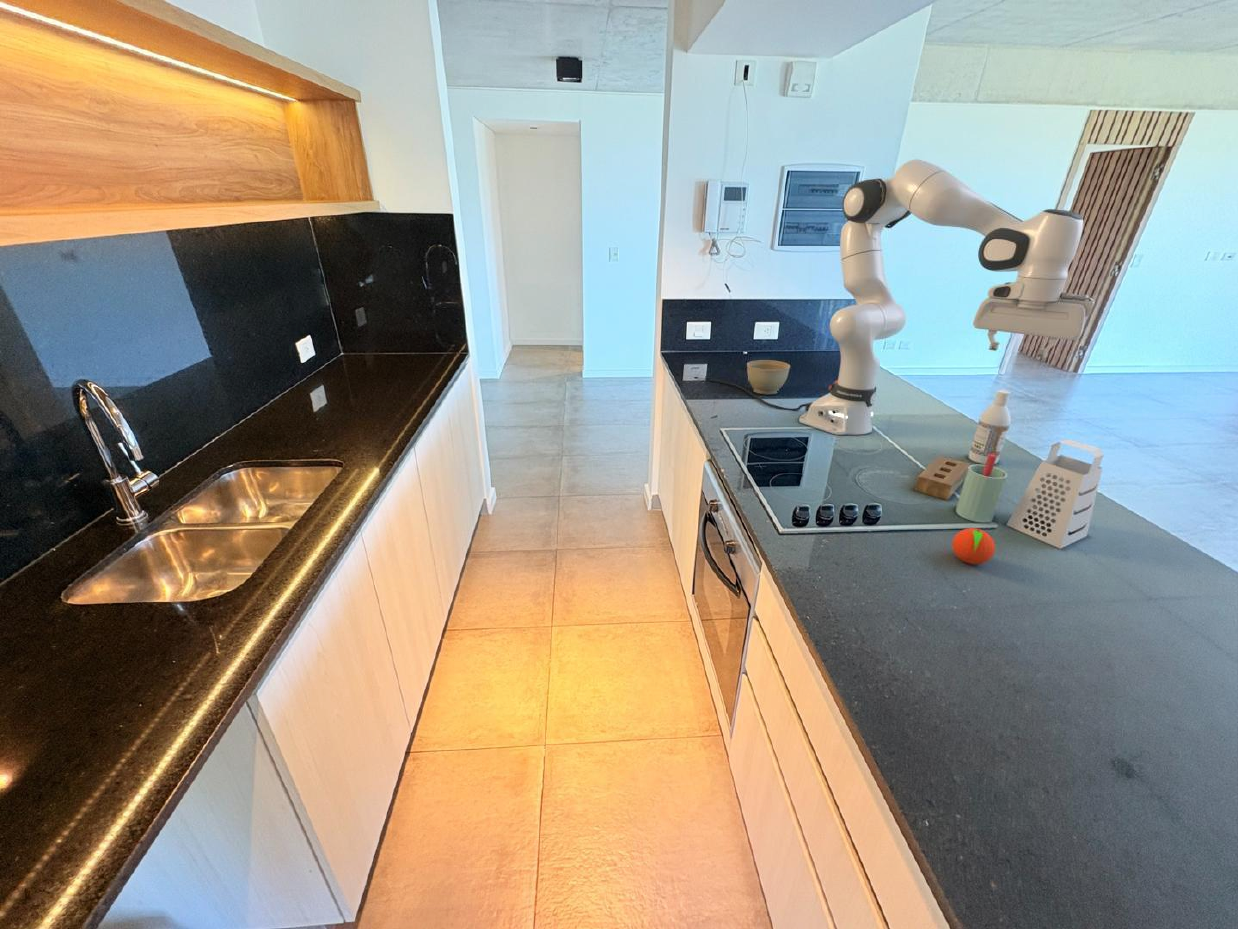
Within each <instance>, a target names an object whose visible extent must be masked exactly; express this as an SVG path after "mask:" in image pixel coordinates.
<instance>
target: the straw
mask: <svg viewBox="0 0 1238 929" xmlns="http://www.w3.org/2000/svg"><path fill="white" fill-rule="evenodd" d="M996 457H997V456H996V455H994V454H989V455H988V458H987V461H986V465H985V464H984V465H985V468H984V471H983V474H982V475H983V476H987V477H990V476H991V473H992V470H993V467H995V465H996V464H995V460H996Z"/></svg>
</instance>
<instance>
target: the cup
mask: <svg viewBox="0 0 1238 929" xmlns="http://www.w3.org/2000/svg"><path fill="white" fill-rule="evenodd" d="M984 468H985V464H980V463H975V464H971V465H970V466H969V467H968V471H967V474H966V477H965V480H964V481H963V483H962V487H961V491H960V494H959V497H958V500H957V504H956V509H955V512H956V514H957V515H958V516H960V517H961V518H962V519H965V520H968V521H971V522H975V523H982V524H983V523H984V524H985V523H990V522H992V521H993V519H994V517H995V513H996V511H997V509H998V506H999V502H1000V499H1001V497H1002V493H1003V490H1004V488H1005V485H1006V481H1007V479H1008V475H1009V474H1008V473H1007V472H1006V471H1005V470H1003V469H1001V468H999V467H995V466H994V467H993V470H992V473H991V476H990V477H987V476H983V475H982V474H983V471H984Z"/></svg>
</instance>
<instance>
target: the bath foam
mask: <svg viewBox="0 0 1238 929" xmlns="http://www.w3.org/2000/svg"><path fill="white" fill-rule="evenodd" d="M1010 396H1011V391H1008V390H1004V389H1003V390H1002V389H999V390H997V391H996V393H995V397H994V400H993V403H992V404H991V405H989V407H987V408H986V409H985V410H984V411H983V412H982V414H981V415H980V417H979V419H978V422H977V426H976V429H975V432H974V436H973V438H972V443H971V446H970V449H969V453H968V459H969V460H970V461H972V462H974V463H975V464H980V465H986V461H987V458H988V455H989V454H994V455H996V456H997V457H996V460H995V464H994V465H996V464H997V463H998V462H999V459H1000V457H1001V453H1002V450H1003V447H1004V444H1005V441H1006V439H1007V435H1008V432H1009V429H1010V425H1011V419H1012V418H1011V413H1010V411H1009V408H1008V406H1007V405H1008V403H1009V400H1010Z"/></svg>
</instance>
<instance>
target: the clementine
mask: <svg viewBox="0 0 1238 929" xmlns="http://www.w3.org/2000/svg"><path fill="white" fill-rule="evenodd" d="M951 546H952V550H953V552H954V554H955V556H956V557H957V558H958V559H959V560H961V561H962V562H964V563H966V564H970V565H981V564H985V563H986V562H989V560H991V558H993V556H994V554H995V550H996V545H995V541H994V539H993V537H992V536H991V535H990V534H989V533H987V532H986V531H985V530H983V529H981V528H975V527H970V528H965V529H962V530H960V531H959V532H957V533H956V534H955V536H954V537H953V539H952V543H951Z"/></svg>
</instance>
